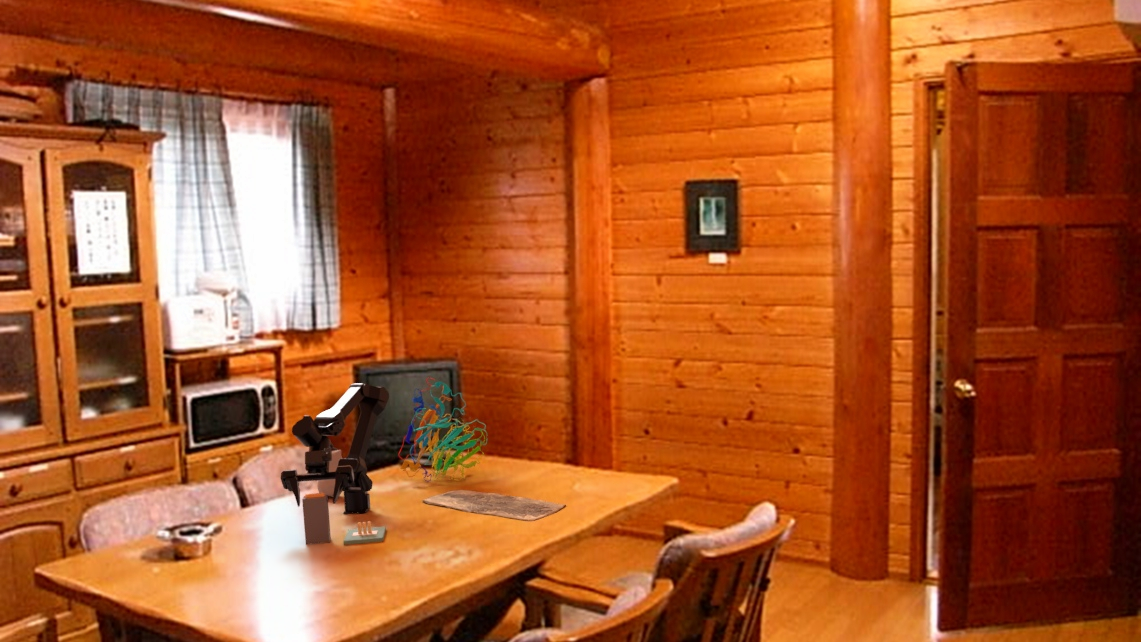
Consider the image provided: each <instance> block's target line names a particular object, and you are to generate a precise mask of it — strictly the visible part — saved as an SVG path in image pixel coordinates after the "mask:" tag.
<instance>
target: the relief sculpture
mask: <svg viewBox="0 0 1141 642" xmlns="http://www.w3.org/2000/svg"><path fill="white" fill-rule="evenodd" d="M421 502H422V503H425V504H428V505H433V506H434V505H435V506H441V507H445V508H446V509H455V510H459V511H462V512H464V513H474V514H478V515H490V516H498V517H503V518H509V519H514V520H518V521H519V520H521V521H527V522H534V521H537V520H540V519H543V518H546V517H549V516H551V515H554V514H555V513H557V512H559V511H560V510H561V509H563V508H564V507H565V506H567V505H566V504H562V503H557V502H556V503H555V502H552V501H546V500H541V499H535V498H534V499H532V498H529V497H522V496H514V495H507V494H506V495H505V494H502V493H496V492H495V493H494V492H481V491H480V492H479V491H475V490H468V489H467V490H465V489H454V490H450V491H446V492H445V493H440V494H437V495H433V496H430V497H428V498H424V499H422V500H421Z"/></svg>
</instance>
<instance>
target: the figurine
mask: <svg viewBox="0 0 1141 642" xmlns="http://www.w3.org/2000/svg"><path fill="white" fill-rule="evenodd" d="M331 450H332V461H330V462H329V472H336V469H337V466H338V462H339V460H340V459H343V457H342V449H338V448H336V447H333V448H331ZM316 485H317V491H318V493H324V495H325V494H327V495H328V497H333V494H334V487H335V479H334V480H320V481H317V483H316Z"/></svg>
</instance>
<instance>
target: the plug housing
mask: <svg viewBox="0 0 1141 642" xmlns="http://www.w3.org/2000/svg"><path fill="white" fill-rule="evenodd" d="M328 497H329V496H328V495H327V494H325V495H324V493H319V492H317V493H316V492H314V493H305V495H304V496H303V498H302V501H301V503H302V513H303V526H304V537H305V539H304V540H305V545H316V544H326V543H330V542H331V537H332V535H331V525H330V523H331V522H330V510H329V498H328Z"/></svg>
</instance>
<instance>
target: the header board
mask: <svg viewBox="0 0 1141 642" xmlns="http://www.w3.org/2000/svg"><path fill="white" fill-rule="evenodd" d="M386 531H387V527H386V526H385V525H384V526H375V527H374V526H373V527H372V521H367V522H366V521H363V522H362V521H359V522H357V528H350V529H347V532H346V534H345V535H344V539H343V545H344V546H346V545H347V546H348V545H357V544H358V545H359V544H370V543H379V542H380V543H381V542H384V538H385V534H386Z"/></svg>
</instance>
